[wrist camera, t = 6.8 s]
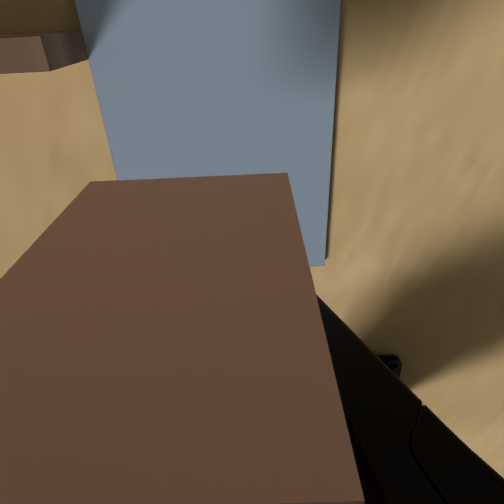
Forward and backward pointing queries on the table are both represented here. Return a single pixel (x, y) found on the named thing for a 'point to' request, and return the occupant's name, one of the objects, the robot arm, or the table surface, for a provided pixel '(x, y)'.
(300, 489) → the terracotta block
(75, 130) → the table surface
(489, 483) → the robot arm
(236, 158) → the slate mat
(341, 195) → the table surface
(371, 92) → the table surface
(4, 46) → the brown open boxy piece
